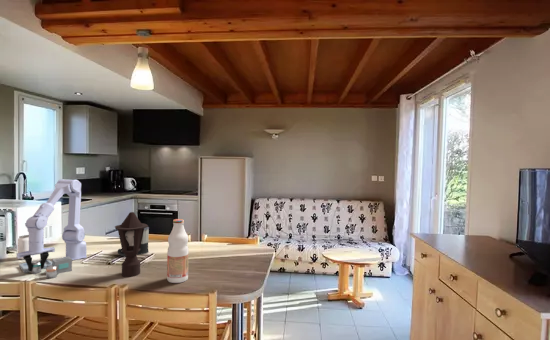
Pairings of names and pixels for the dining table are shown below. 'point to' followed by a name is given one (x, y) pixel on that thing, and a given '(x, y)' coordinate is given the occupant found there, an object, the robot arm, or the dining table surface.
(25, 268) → the tray
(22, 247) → the can
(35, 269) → the teal cartridge
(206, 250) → the dining table surface
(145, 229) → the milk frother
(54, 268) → the terracotta cartridge
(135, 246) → the lantern
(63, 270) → the wall unit
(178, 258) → the fruit juice
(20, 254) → the robot arm
